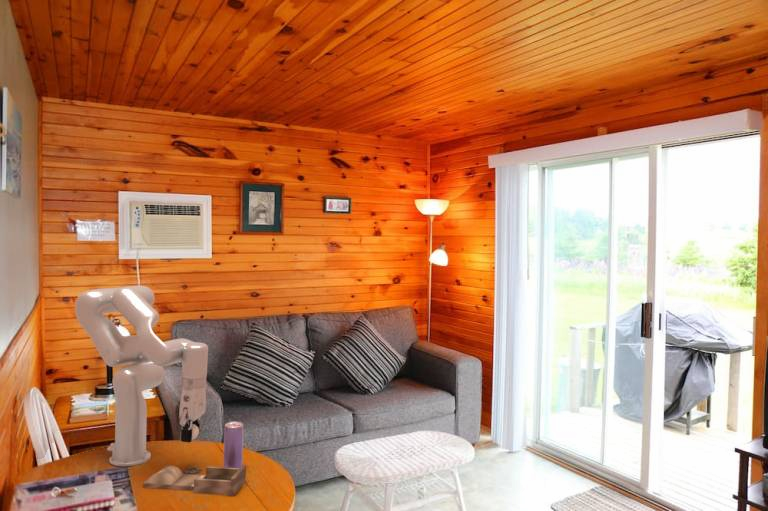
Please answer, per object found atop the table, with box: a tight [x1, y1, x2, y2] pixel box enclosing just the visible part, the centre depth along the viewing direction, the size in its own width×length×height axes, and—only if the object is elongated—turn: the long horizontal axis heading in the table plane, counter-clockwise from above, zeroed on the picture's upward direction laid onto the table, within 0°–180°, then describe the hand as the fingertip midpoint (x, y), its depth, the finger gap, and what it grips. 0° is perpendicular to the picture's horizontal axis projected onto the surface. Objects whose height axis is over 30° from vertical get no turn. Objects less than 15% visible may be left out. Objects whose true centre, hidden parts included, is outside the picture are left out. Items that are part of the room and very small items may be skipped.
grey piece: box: [183, 466, 202, 475], centre depth 182 cm, size 5×5×1 cm
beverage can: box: [222, 421, 244, 468], centre depth 183 cm, size 6×6×15 cm
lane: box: [142, 465, 247, 497], centre depth 172 cm, size 28×10×9 cm, turn 85°
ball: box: [188, 423, 200, 441], centre depth 182 cm, size 5×5×5 cm
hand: (190, 437), depth 182 cm, fingers closed on ball, 4 cm apart
